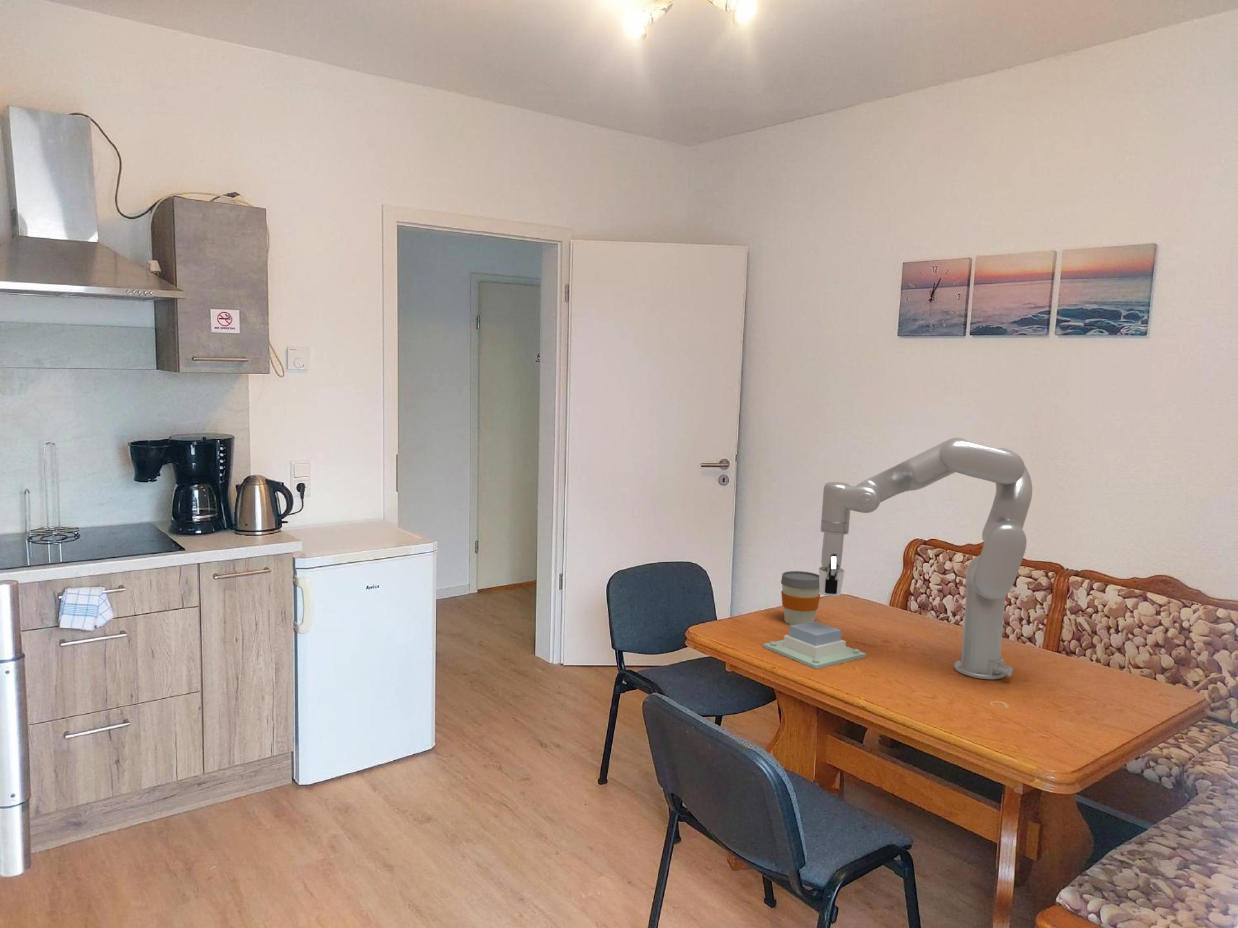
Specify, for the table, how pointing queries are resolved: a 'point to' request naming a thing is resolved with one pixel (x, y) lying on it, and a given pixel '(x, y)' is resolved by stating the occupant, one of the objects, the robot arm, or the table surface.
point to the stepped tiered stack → (815, 645)
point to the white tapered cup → (824, 576)
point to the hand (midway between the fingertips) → (830, 589)
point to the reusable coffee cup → (800, 596)
